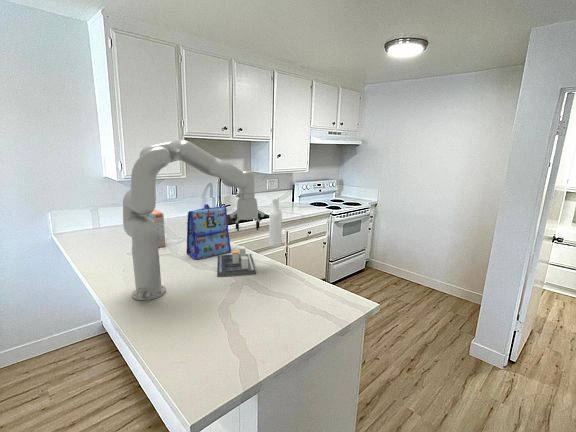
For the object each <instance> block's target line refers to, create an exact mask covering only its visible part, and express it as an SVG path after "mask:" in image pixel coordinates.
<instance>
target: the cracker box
mask: <svg viewBox="0 0 576 432" xmlns="http://www.w3.org/2000/svg"><path fill="white" fill-rule="evenodd" d="M148 219H150V220H152V221H153V222H154V223H155V224H156V225H157V227H158V230H159V239H158V249H159V248H163V247H166V236H165V220H164V213H163V212H160V211H159V210H156V209H154V210H153V212H152V213H150V214H148Z"/></svg>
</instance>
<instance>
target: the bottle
mask: <svg viewBox="0 0 576 432" xmlns="http://www.w3.org/2000/svg"><path fill="white" fill-rule="evenodd" d="M271 201H272V208H271V210H270V211H269V214H268V215H269V218H268V219H269V221H268V222H269V224H268V225H269V227H268V229H269V231H268V232H269V234H268V235H269V242H268V244H269V247H271V248H280V247H281V246H283V245H282V243H283V239H282V237H283V235H282V234H283V227H282V226H283V216H282V215H283V214H282V211H281V210H280V209H279V207H280V206H279V205H280V204H279V203H280V197H276V196H275V197H272V200H271Z"/></svg>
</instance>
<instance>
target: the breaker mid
mask: <svg viewBox="0 0 576 432" xmlns="http://www.w3.org/2000/svg"><path fill="white" fill-rule="evenodd" d="M231 253H232V254H231V255H232V261H233V264H236V263H239V249H238V250H237V249H236V250H234V249H233V250H231Z"/></svg>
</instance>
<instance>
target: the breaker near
mask: <svg viewBox="0 0 576 432" xmlns="http://www.w3.org/2000/svg"><path fill="white" fill-rule="evenodd" d="M241 267H242V269H248V257H247V256H241Z"/></svg>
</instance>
